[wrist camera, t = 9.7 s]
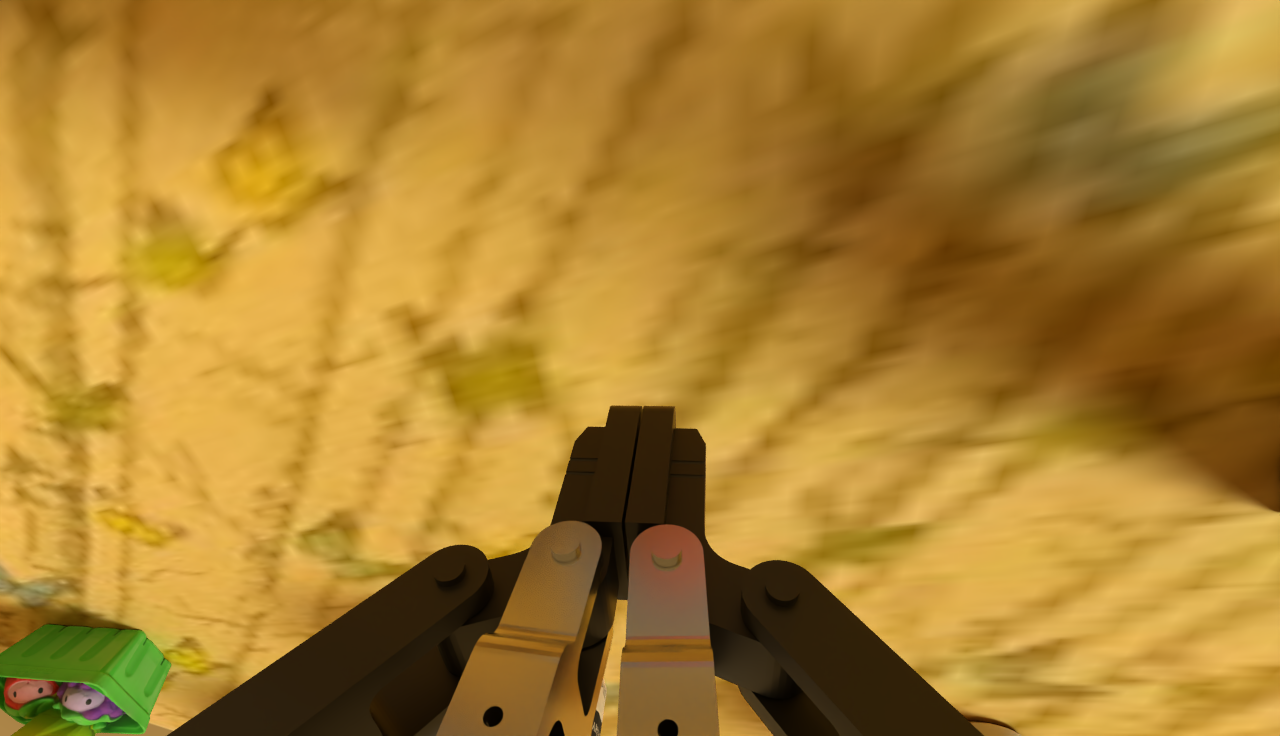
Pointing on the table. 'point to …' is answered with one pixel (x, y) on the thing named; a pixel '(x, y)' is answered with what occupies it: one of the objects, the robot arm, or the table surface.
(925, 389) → the table surface
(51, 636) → the fruit basket
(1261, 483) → the table surface
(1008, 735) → the travel mug
